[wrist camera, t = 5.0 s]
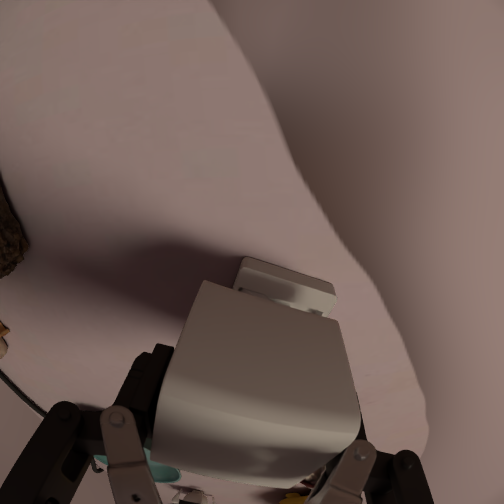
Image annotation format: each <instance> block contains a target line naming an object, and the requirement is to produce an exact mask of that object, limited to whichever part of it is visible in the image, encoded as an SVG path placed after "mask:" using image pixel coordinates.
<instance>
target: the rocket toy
mask: <svg viewBox="0 0 504 504" xmlns="http://www.w3.org/2000/svg"><path fill="white" fill-rule="evenodd" d="M181 491H182V489H181V490H180V491H179V492H178V493H177V494H176V495H175V496H174V497H173V499H172V502H173V503H176V504H179V495H180V493H181ZM212 498H213V504H216V503H215V500H214V497H212ZM183 500H184V501H189V502H194V503H199V504H208V499H207V497H206V496H205V495H203V491H197V490H193V491H192V492H190V493H188V494H187V495H186V496H185V497H184V499H183Z"/></svg>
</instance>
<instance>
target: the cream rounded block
mask: <svg viewBox="0 0 504 504" xmlns="http://www.w3.org/2000/svg"><path fill="white" fill-rule="evenodd" d="M336 301H337V296H336V293H335V290H334V287H333V285H332V284H331V283H327V282H324V281H321V280H318V279H315V278H312V277H309V276H306V275H303V274H300V273H297V272H293V271H290V270H287V269H284V268H281V267H278V266H275V265H272V264H269V263H266V262H263V261H260V260H257V259H253V258H250V257H245V258H243V260H242V262H241V265H240V268H239V271H238V274H237V277H236V279H235V282H234V285H233V288H232V289H230V288H227V287H224V286H221V285H218V284H215V283H212V282H209V281H206V280H204V281H203V282H202V285H201V287H200V289H199V292H198V294H197V296H196V298H195V301H194V303H193V305H192V308H191V310H190V313H189V315H188V318H187V320H186V323H185V325H184V328H183V330H182V332H181V335H180V337H179V340H178V343H177V345H176V348H175V350H174V353H173V355H172V358H171V360H170V363H169V365H168V368H167V371H166V373H165V376H164V379H163V383H162V386H161V390H160V394H159V398H158V403H157V409H156V416H155V422H154V429H153V437H152V444H151V452H150V460H151V461H154V462H157V463H160V464H163V465H167V466H170V467H173V468H177V469H180V470H184V471H187V472H191V473H195V474H199V475H203V476H208V477H212V478H217V479H222V480H227V481H232V482H238V483H244V484H250V485H257V486H265V487H274V488H284V489H289V488H291V487H293V486H294V485H296V484H297V483H299V482H300V481H302V480H303V479H305V478H306V477H308V476H309V475H311V474H312V473H313V472H315V471H316V470H318V469H319V468H320V467H322V466H323V465H325V464H326V463H327V462H329V461H330V460H331V459H333V458H334V457H335V456H336V455H338V454H339V453H340V452H342V451H343V450H344V449H345V448H346V447H348V446H349V445H350V444H351V443H352V442H353V441H354V440H355V438H356V436H357V435H358V432H359V429H360V424H361V414H360V409H359V404H358V400H357V395H356V391H355V386H354V382H353V378H352V373H351V369H350V365H349V361H348V357H347V353H346V349H345V345H344V341H343V338H342V334H341V330H340V326H339V323H338V321H336V320H334V319H330V318H327V317H328V315H329V314H330V312H331V310H332V308H333V307H334V305H335V303H336Z"/></svg>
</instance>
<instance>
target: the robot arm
mask: <svg viewBox="0 0 504 504" xmlns="http://www.w3.org/2000/svg"><path fill="white" fill-rule="evenodd" d="M173 353H174V347H172V346H167V345H163V344H159V343H157V344H156V346H155V348H154V350H153V352H152V354H151V353H147V352H143V353H142V354H140V355H139V356H138V357H137V358H136V359H135V361H134V363H133V365H132V367H131V369H130V371H129V373H128V376H127V377H126V379H125V381H124V383H123V385H122V387H121V389H120V391H119V394H118V396H117V398H116V400H115V402H114V403H113V405H112V406H110V407H108V408H106V409H105V410H103V411H82V410H79V408H78V407H77V406H76V405H75V404H73V403H71V402H68V401H61V402H58V403H56V404H55V405H54V406H53V407H52V408H51V409H50V411H49V412H48V414H46V413H45V412H44V411H42V410H41V409H40V408H38V407H37V406H36V405H35V404H34V403H32V402H31V401H30V400H29V399H28V398H27V397H26V396H25V395H23V394H22V393H21V392H20V391H19V390H18V389H17V388H16V387H15V386H14V385H13V384H12V383H11V382H10V381H9V380H8V379H7V378H6V377H5V376H4V374H3V373H2V372H1V371H0V378H1V379H2V380H3V381H4V382H5V383H6V384H7V385H8V386H9V387H10V388H11V389H12V390H13V391H14V392H15V393H16V394H17V395H18V396H19V397H20V398H21V399H22V400H23V401H24V402H25V403H26V404H28V405H29V406H30V407H31V408H32V409H34V410H35V411H36V412H37V413H39V414H40V415H41V416H42V417H44V419H43V421H42V422H41V424H40V426H39V427H38V428H37V430H36V431H35V433H34V434H33V436H32V438H31V439H30V441H29V442H28V444H27V445H26V447H25V448H24V450H23V451H22V453H21V455H20V456H19V458H18V460H17V461H16V463H15V464H14V466H13V468H12V469H11V471H10V473H9V474H8V476H7V478H6V479H5V481H4V483H3V484H2V487H1V488H0V504H70V502H71V500H72V498H73V496H74V494H75V492H76V490H77V488H78V486H79V484H80V482H81V480H82V478H83V476H84V474H85V473H86V471H87V469H88V467H89V465H90V463H91V465H92V469H93V471H94V472H96V473H100V472H102V471H104V470H103V469H101V468H99V469H97V468H96V464H95V460H94V458H93V457H94V455H101V456H106V457H107V462H108V466H107V473H108V477H109V481H110V485H111V489H112V493H113V496H114V500H115V503H116V504H163V503H162V500H161V498H160V495H159V492H158V490H157V487H156V485H155V482H154V479H153V476H152V473H151V470H150V467H149V464H148V461H147V458H146V454H145V451H144V448H143V447H144V444H145V441H146V438H150V439H152V437H153V429H154V422H155V416H156V409H157V403H158V398H159V394H160V390H161V386H162V383H163V379H164V376H165V373H166V371H167V368H168V365H169V363H170V360H171V358H172V355H173ZM356 395H357V392H356ZM357 400H358V396H357ZM358 404H359V401H358ZM359 409H360V405H359ZM360 414H361V411H360ZM325 467H326V469H325V470H324V471H323V473H322V474H321V476H320V478H319V479H318V481H317V483H316V484H315V486H314V488H313V489H312V491H311V493H310V494H309V496H308V497H307V499H306V500H305V502H304V503H303V504H362V500H363V499H362V498H361V493H362V491H364V492H365V497H366V502H367V504H434V502H433V499H432V495H431V492H430V489H429V486H428V483H427V480H426V477H425V474H424V471H423V468H422V465H421V462H420V459H419V457H418V456H417V455H416V454H415V453H414V452H412V451H410V450H402V451H400V452H398V453H397V454H396V455H393V454H389V453H384V452H380V451H377V450H376V449H375V447H374V446H373V445H372V444H371V443H370V442H368V441H367V438H366V434H365V429H364V424H363V419H362V414H361V424H360V429H359V432H358V435H357V436H356V438H355V440H354V441H353V442H352V443H351V444H350V445H349V446H348V447H346V448H345V449H344V450H343V451H342V452H340V453H339V454H338V455H336V456H335V457H334V458H333V459H331V460H330V461H329V462H327V463H326V464H325ZM179 504H199V503H194V502H189V501H184V500H180V499H179Z"/></svg>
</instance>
